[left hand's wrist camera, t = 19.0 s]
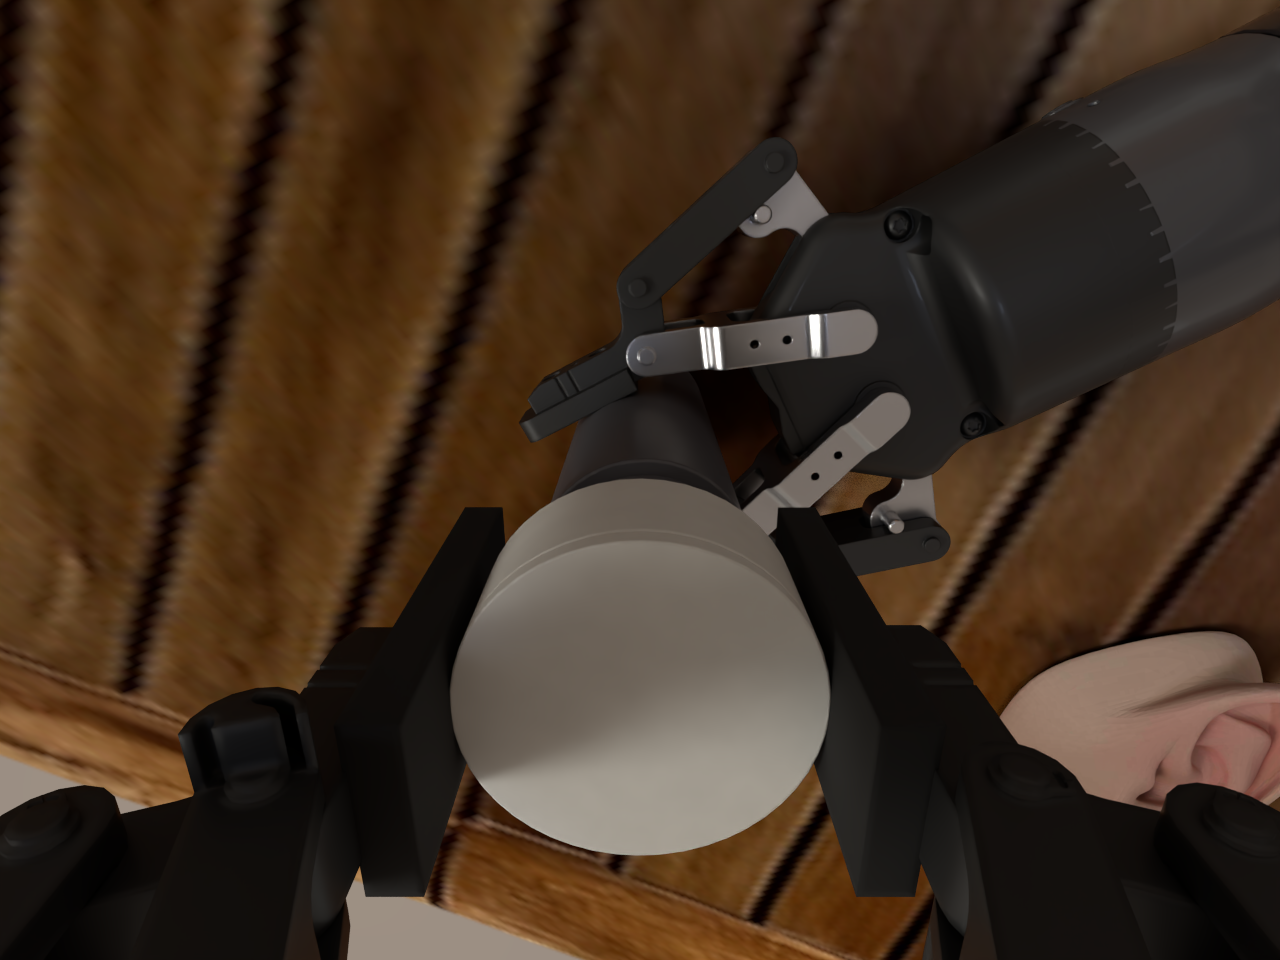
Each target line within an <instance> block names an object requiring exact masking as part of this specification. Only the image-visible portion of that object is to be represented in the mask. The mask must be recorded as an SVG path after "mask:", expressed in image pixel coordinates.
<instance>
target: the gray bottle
mask: <svg viewBox="0 0 1280 960" xmlns="http://www.w3.org/2000/svg"><path fill="white" fill-rule="evenodd" d="M624 479H655V480H666V481H671V482H676V483H681V484H686V485H689V486H692V487H695V488H698V489H701V490H704V491H707V492H709V493H711V494H713V495H715V496H717V497H720V498H722V499H724V500H726V501H727V502H729V503H730V504H732V505H733V506H735V507H737V508H738V509H740V510H741V508H740V505H739V502H738V499H737V497H736V494H735V491H734V488H733V485H732V482H731V479H730V476H729V474H728V471H727V468H726V465H725V462H724V459H723V456H722V454H721V451H720V448H719V445H718V442H717V439H716V436H715V433H714V431H713V428H712V425H711V422H710V419H709V416H708V413H707V411H706V408H705V405H704V402H703V399H702V396H701V393H700V391H699V388H698V386H697V384H696V382H695V380H694V378H693V377H692V376H691V374H690V373H689V372H681V373H674V374H666V375H659V376H651V377H644V378H642V379H640V380H638V390H637V391H635V392H633V393H631V394H629V395H627V396H626V397H624V398H622V399H620V400H618V401H615V402H613V403H610V404H609V405H607V406H605V407H603V408H601V409H600V410H598V411H596V412H594V413H592V414H590V415H588V416H586V417H584V418H582V419H580V420H579V422H578V425H577V428H576V431H575V434H574V437H573V440H572V442H571V445H570V448H569V451H568V454H567V457H566V460H565V463H564V466H563V469H562V472H561V475H560V478H559V481H558V484H557V487H556V490H555V493H554V495H553V498H552V501H551V503H552V502H553V501H555V500H557V499H558V498H561V497H563V496H565V495H567V494H569V493H572V492H574V491H576V490H579V489H582V488H585V487H589V486H592V485H595V484H598V483H604V482H610V481H615V480H624Z"/></svg>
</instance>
